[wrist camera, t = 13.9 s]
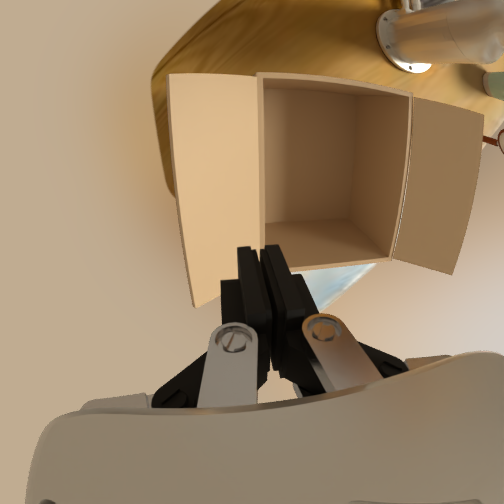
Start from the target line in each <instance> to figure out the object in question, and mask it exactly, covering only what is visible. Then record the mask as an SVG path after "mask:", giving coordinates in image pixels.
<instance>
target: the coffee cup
mask: <svg viewBox="0 0 504 504" xmlns="http://www.w3.org/2000/svg"><path fill="white" fill-rule="evenodd" d="M483 86H484V89H485V91H486V93H487V94H488V95H489V96H491V97H494V98H497V99H500V100H503V101H504V72H491V73H485V74H484V76H483Z"/></svg>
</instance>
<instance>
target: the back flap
mask: <svg viewBox="0 0 504 504" xmlns="http://www.w3.org/2000/svg"><path fill="white" fill-rule="evenodd" d="M483 127H484V115H483V114H480V113H476V112H473V111H470V110H466V109H463V108H459V107H456V106H452V105H448V104H444V103H440V102H435V101H431V100H426V99H421V98H416V97H414V116H413V134H412V146H411V157H410V166H409V174H408V182H407V189H406V195H405V202H404V207H403V213H402V218H401V224H400V229H399V234H398V238H397V243H396V247H395V252H394V256H393V258H394V259H397V260H400V261H404V262H408V263H411V264H415V265H418V266H422V267H426V268H429V269H432V270H436V271H439V272H443V273H446V274H449V275H452V274H453V271H454V268H455V265H456V262H457V259H458V256H459V253H460V249H461V246H462V243H463V240H464V236H465V233H466V229H467V225H468V221H469V217H470V213H471V209H472V204H473V199H474V195H475V189H476V184H477V179H478V173H479V166H480V159H481V150H482V140H483Z"/></svg>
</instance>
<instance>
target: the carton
mask: <svg viewBox="0 0 504 504" xmlns="http://www.w3.org/2000/svg"><path fill="white" fill-rule="evenodd" d="M253 76H254V77H257V103H258V153H259V218H260V249H264V247H265V245H274V244H279V246H280V248H281V251H282V253H283V256H284V258H285V260H286V263H287V265H288V268H289V270H290V272H296V271H306V270H316V269H325V268H334V267H343V266H352V265H361V264H369V263H378V262H386V261H391V260H392V256H393V252H394V248H395V243H396V238H397V234H398V229H399V224H400V219H401V213H402V208H403V202H404V195H405V189H406V182H407V174H408V166H409V157H410V146H411V133H412V115H413V93H411V92H407V91H403V90H399V89H395V88H391V87H387V86H382V85H377V84H372V83H367V82H362V81H356V80H350V79H343V78H336V77H328V76H319V75H308V74H295V73H275V72H256V73H255V74H254V75H253Z"/></svg>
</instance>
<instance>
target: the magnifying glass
mask: <svg viewBox="0 0 504 504" xmlns="http://www.w3.org/2000/svg"><path fill="white" fill-rule="evenodd" d="M482 141H483V142H486V143H489V144H492V145H495V146H499V147H500V149H501V151H502V152H503V154H504V129H503V130H501V131H500V132H499V134H498V140H496V139H493V138H490V137H487V136H483V140H482Z"/></svg>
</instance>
